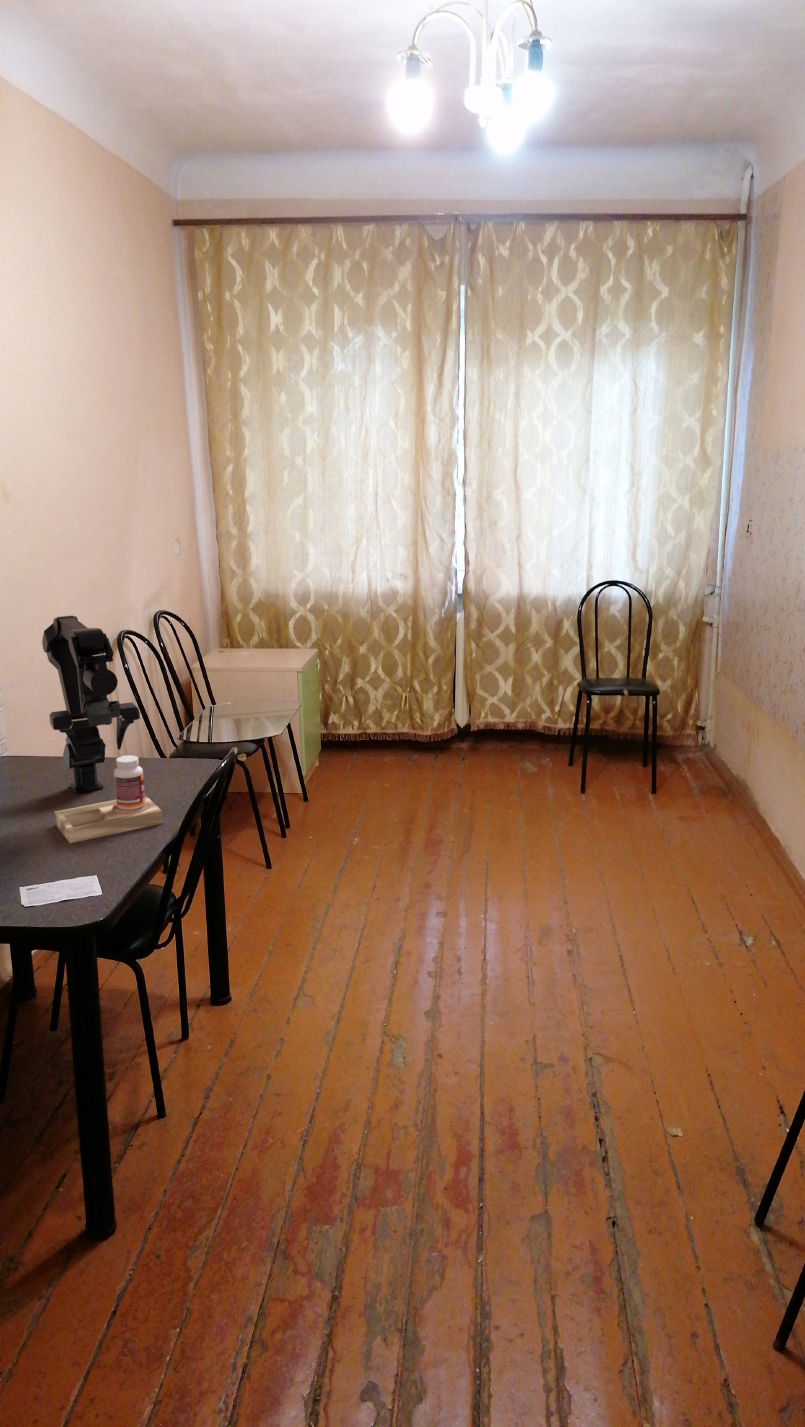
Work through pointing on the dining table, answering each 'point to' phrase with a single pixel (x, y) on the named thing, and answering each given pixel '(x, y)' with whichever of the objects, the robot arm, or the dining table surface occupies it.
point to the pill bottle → (129, 783)
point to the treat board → (105, 820)
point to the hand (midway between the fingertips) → (98, 752)
